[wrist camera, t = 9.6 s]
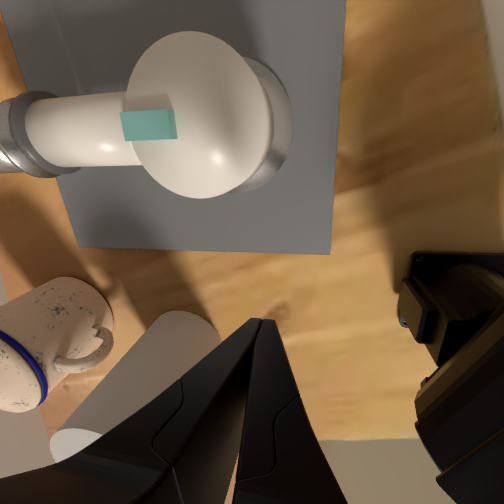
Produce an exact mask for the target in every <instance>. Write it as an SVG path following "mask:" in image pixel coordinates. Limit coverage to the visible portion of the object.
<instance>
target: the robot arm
mask: <svg viewBox="0 0 504 504" xmlns="http://www.w3.org/2000/svg"><path fill="white" fill-rule="evenodd" d="M420 256H421V257H422V259H421V260H419V261H416V259H417V258H418V257H420ZM398 309H399V311H400V315H399V323H400V324H401V326H402V327H405V328H409V329H410V331H411V333H412V335H413V337H414V339H415V340H416V341H417V342H418V343H420V344H425V346H426V348H427V349H428V351H429V353H430V355H431V357H432V358H433V360H434V362H435V364H436V365H437V366H438V367H439V368H438V369H437V370H436V371H435V372H434V373H433V374H432V375H431V376H430V377H429V378H428V377H426V378H425V379H424V380H423V381H422V382H421V389H420V390H419V391H418V392H417V395H416V398H415V401H414V402H415V408H416V414H417V418H418V420H417V421H416V422H415V428H416V431H417V433H418V435H419V437H420V439H421V441H422V443H423V446H424V447H425V449H426V450H427V452H428V454H429V455H430V457H431V458H432V460H433V462H434V463H435V465H436V466H437V467H438V469H439V470H440V472H441V474H440V475H438V476H437V477H436V481H437V483H438V485H439V486H440V487H441V488H442V489H443V490H444V491H445V492H446V493H447V494H448V495H449V496H450V497H451V498H452V499H453V500H454V501H455V502H456V503H457V504H504V253H470V252H431V251H417V252H415V253H413V254H412V255H411V257H410V263H409V268H408V273H407V277H406V278H404V279H403V280H402V285H401V291H400V296H399V301H398ZM404 321H405V322H404ZM180 379H181V380H180ZM180 379H177V380H176V381H175V382H174V383H173V384H171V385H170V386H169V387H168V388H167V389H165V390H164V391H163V392H162V393H160V394H159V395H158V396H157V397H155V398H154V399H153V400H151V401H150V402H149V403H147V404H146V405H145V406H143V407H142V408H140V409H139V410H138V411H136V412H135V413H134V414H132V415H131V416H129V417H128V418H126V419H125V420H124V421H122V422H121V423H119V424H118V425H117V426H115V427H114V428H112V429H111V430H109V431H108V432H107V433H105V434H104V435H102V436H101V437H99V438H98V439H97V440H95V441H94V442H92V443H91V444H90V445H88V446H87V447H85V448H84V449H82V450H81V451H79V452H77V453H76V454H74V455H72V456H70V457H68V458H66V459H64V460H62V461H60V462H58V463H55V464H53V465H49V466H46V467H43V468H39V469H35V470H31V471H27V472H23V473H20V474H16V475H12V476H8V477H5V478H0V504H224V502H225V499H226V495H227V492H228V489H229V485H230V481H231V478H232V474H233V471H234V467H235V464H236V460H237V457H238V453H239V458H238V466H237V472H236V483H235V488H234V494H233V500H232V504H348V503H347V501H346V499H345V497H344V495H343V493H342V491H341V489H340V486H339V484H338V482H337V480H336V478H335V476H334V474H333V472H332V470H331V468H330V466H329V464H328V462H327V460H326V458H325V455H324V453H323V451H322V449H321V447H320V445H319V443H318V440H317V438H316V436H315V434H314V431H313V429H312V427H311V424H310V421H309V419H308V416H307V413H306V411H305V408H304V405H303V402H302V399H301V397H300V393H299V390H298V387H297V384H296V381H295V378H294V375H293V372H292V369H291V366H290V363H289V360H288V357H287V354H286V351H285V348H284V345H283V342H282V339H281V336H280V333H279V330H278V327H277V324H276V321H275V320H272V319H264V320H262V319H260V318H250V319H249V320H248V321H247V322H245V323H244V324H243V325H242V326H241V327H239V328H238V329H237V330H236V331H235V332H234V333H232V334H231V335H230V336H229V337H228V338H226V339H225V340H224V341H223V342H222V343H220V344H219V345H218V346H217V347H216V348H214V349H213V350H212V351H211V352H210V353H209V354H207V355H206V356H205V357H204V358H203V359H201V360H200V361H199V362H198V363H197V364H195V365H194V366H193V367H192V368H191V369H189V370H188V371H187V372H186V373H185V374H183V375H182V376H181V377H180ZM239 449H240V450H239Z"/></svg>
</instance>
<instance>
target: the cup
mask: <svg viewBox="0 0 504 504" xmlns="http://www.w3.org/2000/svg"><path fill="white" fill-rule="evenodd" d="M220 343H222V340H221V338H220V336H219V334H218V332H217V331H216V330H215V328H214V327H213V326H212V325H211V324H210V323H209V322H207V321H206V320H205V319H203V318H202V317H200V316H198V315H196V314H193V313H190V312H186V311H169V312H166V313H164V314H162V315H161V316H159V317H158V318H157V319H156V320H155V322H154V323H153V324H152V325H151V326H150V327H149V328H148V329H147V331H146V332H145V333H144V334H143V335H142V336H141V337H140V338H139V339H138V341H137V342H136V343H135V344H134V345H133V346H132V347H131V348H130V350H129V351H128V352H127V353H126V354H125V355H124V356H123V357H122V359H121V360H120V361H119V362H118V363H117V364H116V365H115V366H114V368H113V369H112V370H111V371H110V372H109V373H108V374H107V375H106V377H105V378H104V379H103V380H102V381H101V382H100V383H99V384H98V385H97V387H96V388H95V389H94V390H93V391H92V392H91V393H90V394H89V396H88V397H87V398H86V399H85V400H84V401H83V402H82V403H81V405H80V406H79V407H78V408H77V409H76V410H75V411H74V412H73V414H72V415H71V416H70V417H69V418H68V419H67V420H66V421H65V423H64V424H63V425H62V426H61V427H60V428H59V429H58V430H57V431H56V433H55V434H54V435H53V436H52V438H51V440H50V450H51V453H52V456H53V458H54V460H55V461H56V463H58V462H60V461H62V460H64V459H66V458H68V457H70V456H72V455H74V454H76V453H77V452H79V451H81V450H82V449H84V448H85V447H87V446H88V445H90V444H91V443H92V442H94V441H95V440H97V439H98V438H99V437H101V436H102V435H104V434H105V433H107V432H108V431H109V430H111V429H112V428H114V427H115V426H117V425H118V424H119V423H121V422H122V421H124V420H125V419H126V418H128V417H129V416H131V415H132V414H134V413H135V412H136V411H138V410H139V409H140V408H142V407H143V406H145V405H146V404H147V403H149V402H150V401H151V400H153V399H154V398H155V397H157V396H158V395H159V394H160V393H162V392H163V391H164V390H165V389H167V388H168V387H169V386H170V385H171V384H173V383H174V382H175V381H176V380H177V379H180V377H181V376H182V375H183V374H185V373H186V372H187V371H188V370H189V369H191V368H192V367H193V366H194V365H195V364H197V363H198V362H199V361H200V360H201V359H203V358H204V357H205V356H206V355H207V354H209V353H210V352H211V351H212V350H213V349H214V348H216V347H217V346H218V345H219V344H220ZM180 380H181V379H180Z"/></svg>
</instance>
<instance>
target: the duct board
mask: <svg viewBox="0 0 504 504" xmlns="http://www.w3.org/2000/svg"><path fill="white" fill-rule="evenodd" d="M0 10H1V13H2V16H3V19H4V22H5V25H6V28H7V31H8V34H9V38H10V41H11V44H12V47H13V50H14V53H15V56H16V59H17V62H18V65H19V68H20V71H21V74H22V77H23V80H24V83H25V86H26V89H27V92H29V91H46V92H50V93H52V94H54V95H56V96H58V97H71V96H81V95H92V94H102V93H113V92H124V91H127V86H128V83H129V80H130V76H131V74H132V72H133V69H134V67H135V65H136V64H137V62H138V60H139V59H140V57H141V56H142V55H143V54H144V52H145V51H146V50H147V49H148V48H149V47H150V46H152V45H153V44H154V43H155V42H157V41H158V40H160V39H161V38H163V37H165V36H168V35H170V34H173V33H177V32H183V31H195V32H203V33H206V34H209V35H212V36H214V37H216V38H219V39H221V40H222V41H224V42H225V43H227V44H228V45H230V46H231V47H232V48H233V49H234V50H235V51H236V52H237V53H238V54H240V56H243V57H247V58H250V59H252V60H255V61H257V62H259V63H260V64H262V65H263V66H265V67H266V68H267V69H268V70H270V71H271V72H272V73H273V74H274V75H275V77H276V78H277V79H278V80H279V82H280V83H281V85H282V87H283V88H284V90H285V92H286V94H287V97H288V99H289V102H290V105H291V109H292V115H293V137H292V143H291V147H290V150H289V153H288V155H287V158H286V160H285V162H284V163H283V165H282V167H281V168H280V170H279V171H278V172H277V173H276V175H274V176H273V177H272V178H271V179H270V180H269V181H268V182H267V183H265V184H264V185H262V186H260V187H259V188H257V189H254V190H252V191H249V192H245V193H237V194H233V193H224V194H221V195H219V196H216V197H211V198H202V199H198V198H190V197H185V196H182V195H179V194H176V193H174V192H172V191H170V190H168V189H167V188H165V187H164V186H162V185H161V184H160V183H158V182H157V181H156V180H155V179H154V178H153V177H152V176H151V175H150V174H149V173H148V172H147V170H146V169H145V168H144V167H143V165H130V166H91V167H82V168H81V169H80V170H78V171H77V172H75V173H71V174H62V175H60V176H58V177H56V180H57V183H58V186H59V189H60V192H61V195H62V198H63V201H64V204H65V207H66V210H67V213H68V216H69V219H70V222H71V225H72V228H73V231H74V234H75V237H76V240H77V243H78V246H79V247H85V248H118V249H151V250H184V251H218V252H251V253H284V254H317V255H330V247H331V231H332V215H333V200H334V184H335V169H336V153H337V137H338V122H339V106H340V90H341V75H342V59H343V43H344V28H345V12H346V0H0Z"/></svg>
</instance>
